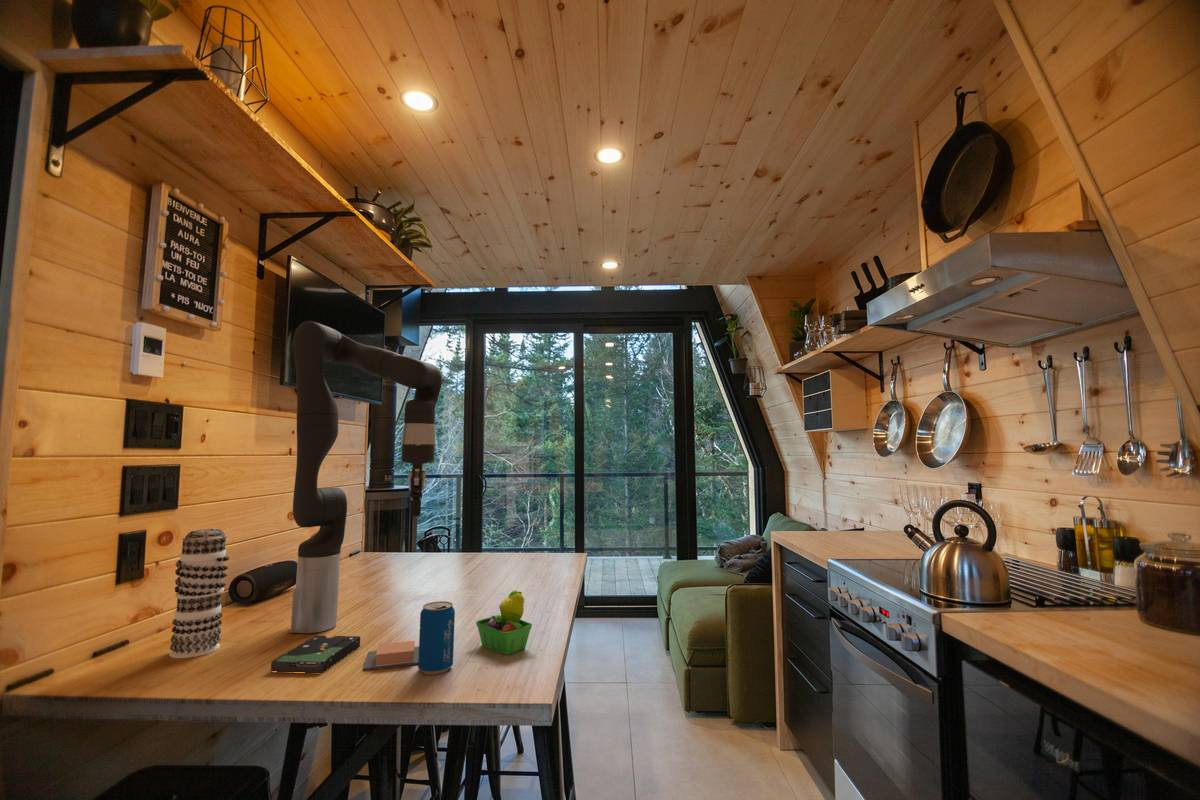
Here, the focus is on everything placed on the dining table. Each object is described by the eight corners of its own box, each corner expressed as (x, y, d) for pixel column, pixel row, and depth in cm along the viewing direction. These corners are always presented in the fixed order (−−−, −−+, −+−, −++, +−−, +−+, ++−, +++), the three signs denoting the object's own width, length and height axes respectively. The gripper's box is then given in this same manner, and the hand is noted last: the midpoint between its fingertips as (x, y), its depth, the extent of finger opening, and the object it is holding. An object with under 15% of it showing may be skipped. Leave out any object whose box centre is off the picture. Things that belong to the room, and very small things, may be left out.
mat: (363, 670, 100) (363, 668, 100) (368, 653, 109) (368, 651, 109) (423, 663, 103) (423, 661, 103) (423, 647, 112) (423, 646, 112)
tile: (378, 655, 107) (375, 666, 101) (378, 644, 107) (375, 654, 101) (414, 651, 109) (413, 662, 103) (414, 640, 109) (414, 650, 103)
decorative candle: (206, 640, 116) (216, 526, 119) (231, 647, 112) (240, 528, 115) (157, 654, 108) (169, 531, 111) (182, 662, 104) (193, 534, 107)
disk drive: (313, 648, 113) (269, 676, 99) (314, 635, 114) (270, 660, 99) (360, 649, 113) (322, 676, 98) (361, 635, 113) (323, 661, 99)
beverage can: (433, 678, 96) (436, 611, 98) (410, 671, 100) (413, 606, 101) (460, 667, 102) (462, 603, 103) (437, 660, 105) (439, 599, 107)
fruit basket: (473, 645, 114) (474, 592, 115) (506, 635, 120) (507, 585, 122) (504, 659, 106) (506, 601, 107) (538, 647, 113) (538, 593, 114)
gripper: (403, 443, 131) (400, 513, 129) (400, 442, 118) (397, 519, 116) (434, 443, 133) (431, 512, 131) (435, 442, 120) (432, 518, 118)
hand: (415, 516), depth 124 cm, fingers closed
